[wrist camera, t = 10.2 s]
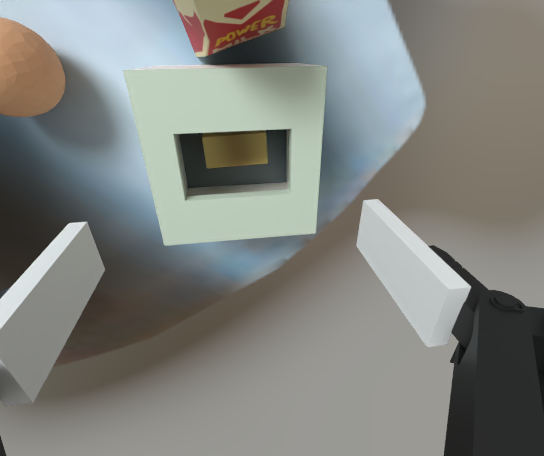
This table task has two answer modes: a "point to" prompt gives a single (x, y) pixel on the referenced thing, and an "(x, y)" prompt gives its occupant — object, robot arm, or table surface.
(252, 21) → the milk carton
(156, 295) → the table surface
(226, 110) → the coin box
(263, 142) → the cardboard box
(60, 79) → the egg
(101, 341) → the table surface
